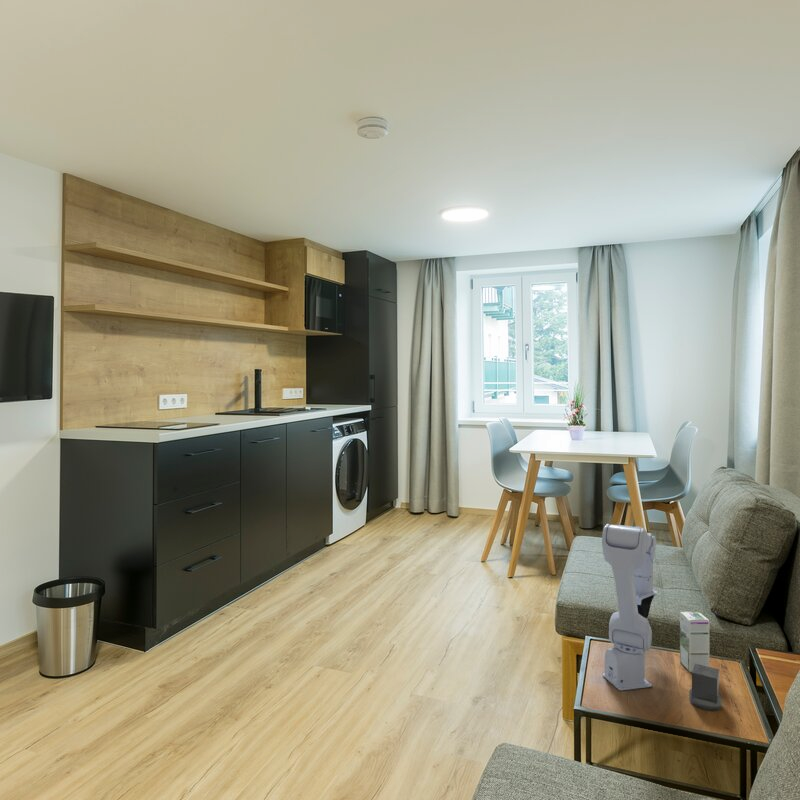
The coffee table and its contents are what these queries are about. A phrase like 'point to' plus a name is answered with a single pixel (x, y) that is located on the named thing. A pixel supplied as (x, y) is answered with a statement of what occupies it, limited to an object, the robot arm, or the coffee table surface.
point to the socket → (705, 683)
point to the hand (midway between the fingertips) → (641, 621)
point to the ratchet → (705, 703)
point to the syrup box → (694, 640)
